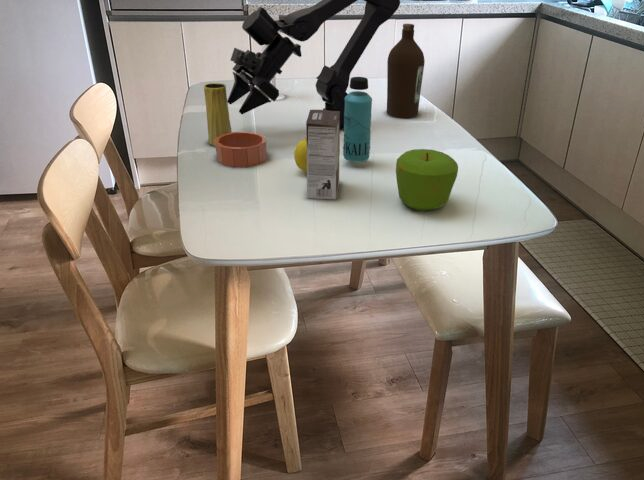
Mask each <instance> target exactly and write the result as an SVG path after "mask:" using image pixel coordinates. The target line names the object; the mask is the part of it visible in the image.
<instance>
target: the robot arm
mask: <svg viewBox="0 0 644 480" xmlns="http://www.w3.org/2000/svg"><path fill="white" fill-rule="evenodd" d="M363 1H364V2H365V5H364V12H363V16H362V18H361V20H360V21H359V23H358V25H357V27H356V28H355V30H354V31H353V33H352V35H351V36H350V38H349V39H348V41H347V43H346V44H345V46H344V48H343V50H342V51H341V52H340V54H339V56H338V58H337V59H336V61H335V62H334V63H333V65H331V66H327V65H324V66H323V67H322V69H321V71H320V73H319V75H318V76H316V82H315V91H316V93H317V94H318V95H319V96H320V98H321V100H322V102H324V107H323V108H322V110H329V111H340V130H344V110H345V97H346V96H347V95H348V94H349V93H347V90H348V87H349V86H350V79H351V77H350V76H351V73H352V72H353V70H354V68H355V67H356V65H357V63H358V62H359V60H360V58H361V57H362V56H363V54H364V52H365V50H366V49H367V47H368V46H369V44H370V42H371V40H372V39H373V37H374V36H375V34H376V32H377V31H378V29H379V28H380V26H381V25H383V24H385V23H386V22H388V21H389V20H390V19H391V18H392V17H393V15H394V14H395V13H396V12H397V11H398V9H399V8H400V5H401V0H363ZM356 2H358V0H319V2H317V3H315V4H314V5H311V6H309V7H306V8H301V9H298V10H295V11H293V12H290V13H288V14H287V15H286V16H285V17H284V18H282V19H279V20H277V21H274V20H273V19H272V18H271V16H270V15H271V14H269V13H268V11H267V10H266V9H265V8H264V7H262V6H259V7H258V8H257V10H255V11H253V12H251V13H250V14H249V15H247V16H246V17H245V18H244V21H243V22H242V26H241V29H242V30H243V31H244V32H245V33H246V34H247V35H248V36H250V38H251V39H253V40H254V41H255V42H256V43H257V45H259V46H262V45H264V44H265V45H268V46H267V47H266V48H265V50H264V51H263V52H262V53H261V51H258V52H254V51H251V50H249V49H246V51H244V50H242V49H239V48H237V47H233V51H232V53H231V57H230V61H231V62H233V63H234V64H235V65H234V66H233V67H232V70H233V71H232V75H233V79H234V81H233V85H232V88H231V90H230V93H229V95H228V97H227V103H228V105H232V104H234V103H236V102H237V101H238V100H240V99H242V98H243V97H244V96H245V95H247V94H248V95H247V96H246V98H245V100H244V101H243V103H242V104H241V106H240V108H239V110H238V112H239V114H241V115H244V114H247V113H249V112H250V111H253V110H254V109H256V108H259V107H261V106H264V105H266V104H268V103H271V102H272V101H273V102H275V101H277V100H276V99H277V98H278V96H279V93H280V90H279V89H278V88H277V86H276V87H275V86H273V85H272V79H273V78H274V76H275V77H276V75H277V74H278V75H281V74H282V73H283V70H282V68H283V66H284V65H285V64H286V62H287V61H288V60H289V59H290V57H291V56H292V55H295V56H297V57H299V58H301V57H302V50H301V47H302V45H301V44H299V43H295V42H293V40H296V41H298V42H301V43H302V42H306V41H308V40H309V39H311V38H312V37H313V36H314V35H315V34H316V33H317V32H318V31H319V29H320V28H321V26H322V25H323V24H324V23H325V22H326V21H328V20H330V19H331V18H332V17H334V16H336V15H337V14H339V13H340V12H342V11H343V10H345V9H346V8H348V7H350V6H352V4H354V3H356ZM278 31H279V32H281V35H280V34H279V33H278ZM282 34H284V35H286V36H283V35H282ZM290 38H292V39H293V40H291V39H290ZM269 99H271V100H269Z"/></svg>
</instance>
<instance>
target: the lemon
mask: <svg viewBox="0 0 644 480" xmlns="http://www.w3.org/2000/svg"><path fill="white" fill-rule="evenodd" d="M294 162H295V165H296V167H297V168H299V169H300V170H301V171H304V172H305V173H306V174H307V138H304V139H302V140H301V141H299V142H298V143H297V144H296V146H295V149H294Z"/></svg>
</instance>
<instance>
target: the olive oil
mask: <svg viewBox="0 0 644 480" xmlns="http://www.w3.org/2000/svg"><path fill="white" fill-rule="evenodd" d="M414 37H415V24H414V23H402V30H401V39H399V41H398V42H397V43H396V44H395V45H394V46H393V47H392V48H391V50H390V51H389V53H388V56H387V68H386V72H387V73H386V74H387V75H386V77H387V79H386V81H387V83H386V86H387V87H386V114H387V115H388V116H390V117H392V118H396V119H412V118H415V117H417V116H418V115H419V107H420V101H421V100H420V99H421V93H422V92H421V90H422V84H423V77H424V69H425V62H426V61H425V56H424V55H425V54H424V52H423V50H422V49H421V47H420V45H419V44H418V43H417V42H416V41H415V38H414Z"/></svg>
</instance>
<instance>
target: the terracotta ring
mask: <svg viewBox="0 0 644 480" xmlns="http://www.w3.org/2000/svg"><path fill="white" fill-rule="evenodd" d="M214 147H215V155H216V156H215V157H216V161H217V162H218V163H219V164H220V165H223V166H226V167H232V168H248V167H249V168H250V167H253V166H258V165H260V164H263V163H264V162H266V161H267V159H268V156H267V138H266V136H265V135H262V134H261V133H256V132H251V131H232V132H231V133H227V134H223V135H221V136H219V137H217V138H216V141H215V146H214Z"/></svg>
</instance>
